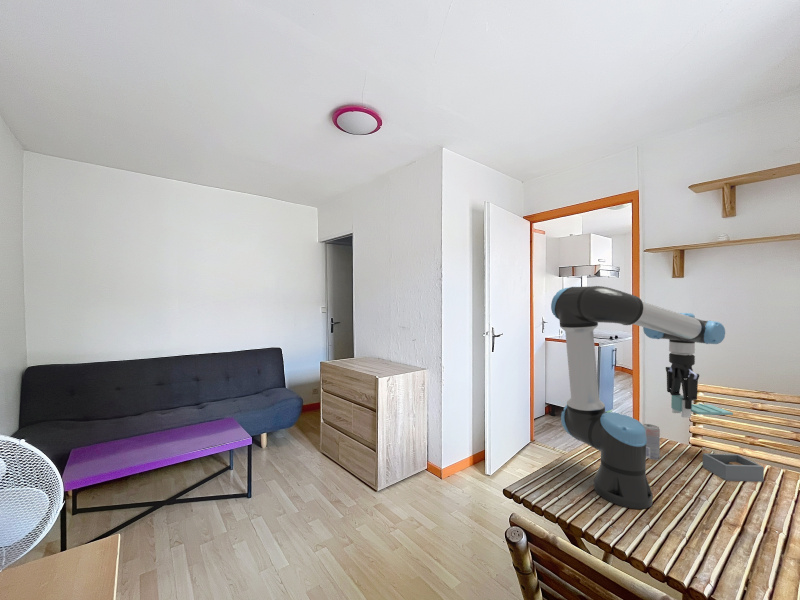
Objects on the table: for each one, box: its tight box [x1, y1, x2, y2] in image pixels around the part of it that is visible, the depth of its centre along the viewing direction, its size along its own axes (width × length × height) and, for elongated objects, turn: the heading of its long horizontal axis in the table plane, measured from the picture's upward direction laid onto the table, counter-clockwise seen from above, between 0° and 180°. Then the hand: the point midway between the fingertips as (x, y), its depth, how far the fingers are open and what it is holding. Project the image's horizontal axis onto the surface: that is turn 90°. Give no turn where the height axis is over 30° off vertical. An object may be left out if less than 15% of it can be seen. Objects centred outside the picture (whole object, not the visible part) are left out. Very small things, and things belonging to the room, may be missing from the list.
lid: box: [670, 394, 734, 416], centre depth 129 cm, size 17×9×6 cm, turn 87°
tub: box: [702, 452, 765, 483], centre depth 117 cm, size 12×9×6 cm
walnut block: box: [728, 462, 742, 465], centre depth 118 cm, size 3×3×3 cm
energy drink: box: [642, 423, 661, 460], centre depth 129 cm, size 5×5×12 cm
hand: (681, 414), depth 129 cm, fingers closed on lid, 4 cm apart
